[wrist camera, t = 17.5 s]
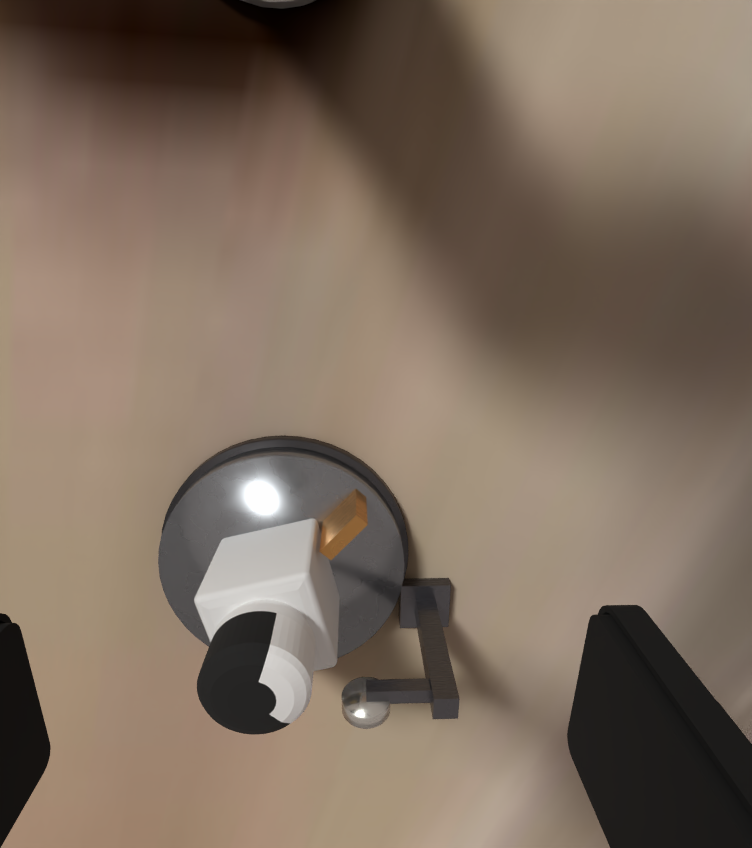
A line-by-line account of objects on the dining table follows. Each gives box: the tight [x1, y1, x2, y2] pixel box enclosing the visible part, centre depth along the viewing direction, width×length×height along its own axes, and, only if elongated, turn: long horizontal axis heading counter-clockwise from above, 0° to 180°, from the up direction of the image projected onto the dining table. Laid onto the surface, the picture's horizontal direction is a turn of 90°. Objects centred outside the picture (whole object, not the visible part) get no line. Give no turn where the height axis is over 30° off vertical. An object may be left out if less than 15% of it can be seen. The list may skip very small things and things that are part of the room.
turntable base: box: [162, 436, 408, 581], centre depth 41 cm, size 19×19×1 cm
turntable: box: [158, 447, 404, 658], centre depth 37 cm, size 18×18×6 cm
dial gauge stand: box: [342, 578, 459, 729], centre depth 38 cm, size 4×9×11 cm, turn 90°
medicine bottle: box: [194, 518, 340, 734], centre depth 33 cm, size 7×7×12 cm
